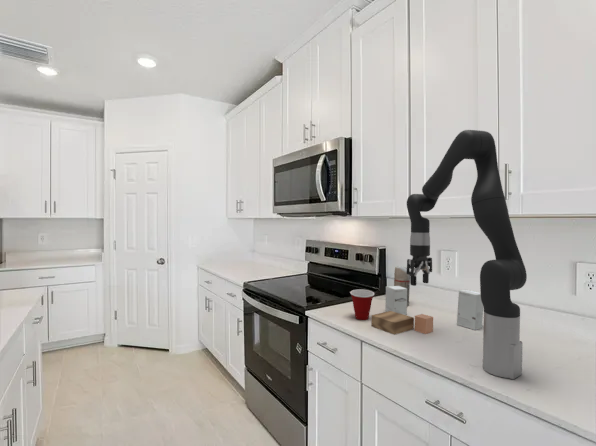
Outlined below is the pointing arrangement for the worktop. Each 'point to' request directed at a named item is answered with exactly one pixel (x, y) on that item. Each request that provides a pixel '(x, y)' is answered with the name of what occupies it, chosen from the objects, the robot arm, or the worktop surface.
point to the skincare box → (470, 309)
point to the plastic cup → (362, 303)
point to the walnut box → (392, 322)
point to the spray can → (402, 279)
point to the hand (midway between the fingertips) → (419, 284)
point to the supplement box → (396, 299)
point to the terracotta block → (423, 323)
